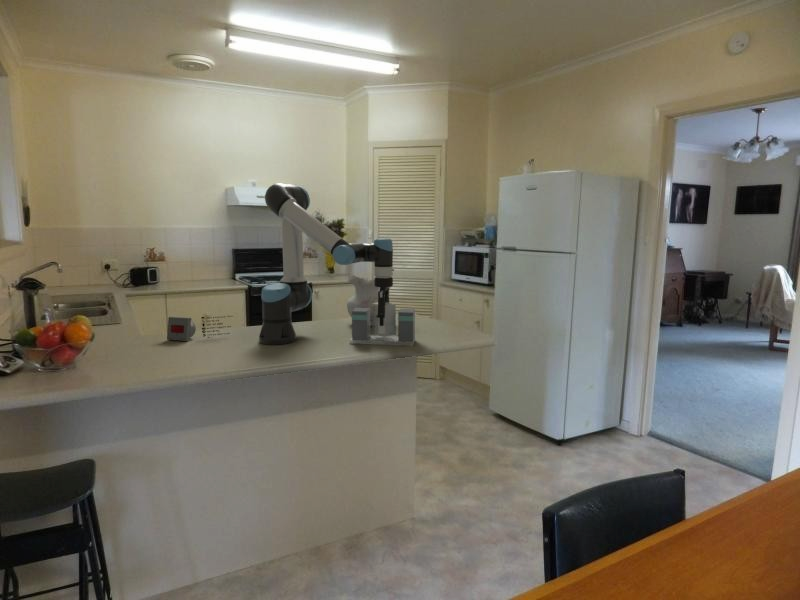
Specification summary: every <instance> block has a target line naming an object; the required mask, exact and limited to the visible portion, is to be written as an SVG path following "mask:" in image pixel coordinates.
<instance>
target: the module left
mask: <svg viewBox="0 0 800 600" xmlns="http://www.w3.org/2000/svg"><path fill="white" fill-rule="evenodd" d="M351 334H352V336H351V338H352V340H367V339H368V338H369V337H370V336H371V326H370V308H355V309H354V310H353V311H352V317H351Z"/></svg>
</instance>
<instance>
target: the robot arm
mask: <svg viewBox="0 0 800 600" xmlns="http://www.w3.org/2000/svg"><path fill="white" fill-rule="evenodd" d="M264 202H265V204H266V207H267V208H268V209H269V210H270V211H271V212H272V213H273V214H275V216H277V218H279V219H280V221H281V233H282V235H281V237H282V238H281V241H282V243H281V244H282V264H283V265H282V269H283V276H282V278H281V279H280V280H279V282H280V283H272V284H268V285H265V286H264V287H262V289H261V297H260V298H261V311H262V312H261V313H262V324H261V328H260V332H259V335H258V338H259V339H258V342H259V343H260V344H262V345H269V346H271V345H275V346H276V345H277V346H279V345H287V344H292V343H294V342H296V340H297V334H296V331H295V328H294V325H293V323H292V312H296V311H300V310H303V309H304V308H306V307H307V306H309V304H310V303H311V302H312V299H313V291H312V288H311V287H310V286H309V284H308V279H307V278H306V276H305V275H304V246H303V245H304V242H303V240H304V239H303V234H305V236H307V237H309V238H310V240H312V241H314V242H315V243H316V244H317V245H319V246H320V247H322V248H323V249H324V250H325V251H327V252H328V254H330V255H331V256H332V258H333V260H334V262H335V263H336V264H337V265H339V266H349V265H351V264H357V263H361V262H362V263H363V262H366V263H367V262H368V263H370V262H371V263H373V273H374V274H373V275H374V285H375V287H379V291H378V315H377V316H376V317H377V318H378V330H379V333H382V334H385V305H386V302H388V303H390V289H389V288H387V287H390V288H392V287H393V286H394V281H393V280H394V279H393V274H394V273H393V272H395V269H394V268H393V266H394V264H393V263H394V262H393V260H394V258H393V257H394V249H393V240H392V239H391V238H375V239H374V240H373V243H361V242H360V243H359V242H350V243H349V242H348V241H346V240H345V239H343V238H342V237H341V236H340V235H339V234H337V233H336V232H335V231H333V230H332V229H331V228H329V227H328V226H327V225H325V224H324V223H323V222H321V221H320V220H319V219H318V218H316V217H315V216H314V215H313V214H311V213H309V212H308V211H307V210H308V208H309V207H310V204H311V198H310V195H309V193H308V191H307V190H306V189H305V188H304V187H303V186H300V185H297V184H294V183H293V184H290V183H289V184H288V183H279V182H278V183H273V184H272V185H270V186H269V187H268V188H267V190H266V191H265V195H264Z"/></svg>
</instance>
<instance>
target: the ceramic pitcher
mask: <svg viewBox="0 0 800 600" xmlns="http://www.w3.org/2000/svg"><path fill="white" fill-rule="evenodd" d="M347 281H348V283H350V284H352V285H353V286H354V288H355V291H354V294H353V295H352V296H351V297H350V298H348V300H347V302H346V309H347V312H348V314H349V316H350V318H352V311H353V310H354V309H355V308H370V327H372V303H377V302H378V291H379V290H380V287H375V285H374V279H370V280H368V279H366V278H364V277H359V276H356V275H354V274H350V275H348V279H347ZM387 288H389V290H390V289H391V287H387Z"/></svg>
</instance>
